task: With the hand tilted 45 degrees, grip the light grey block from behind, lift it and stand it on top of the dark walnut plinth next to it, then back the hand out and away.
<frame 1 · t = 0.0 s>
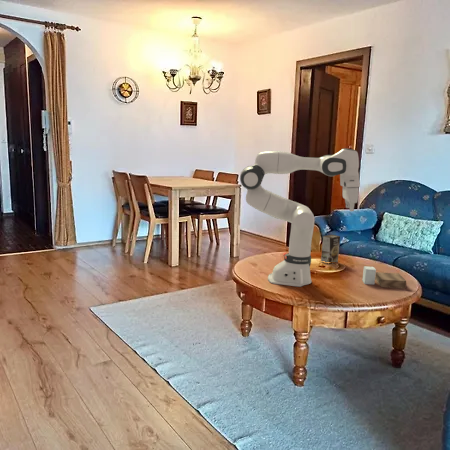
hand: (349, 209, 214), 39 cm above the table, tool pointing down, fingers open, 8 cm apart
walnut plinth: (389, 283, 224), on the table
coffee box: (329, 262, 259), on the table
light grey block: (368, 282, 225), on the table
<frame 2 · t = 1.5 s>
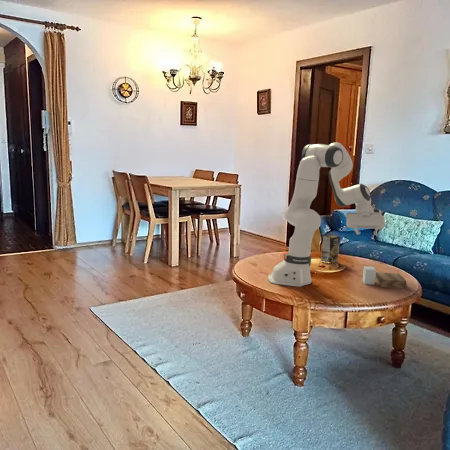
hand: (366, 234, 235), 23 cm above the table, tool tilted 45°, fingers open, 8 cm apart
nothing on the table moved.
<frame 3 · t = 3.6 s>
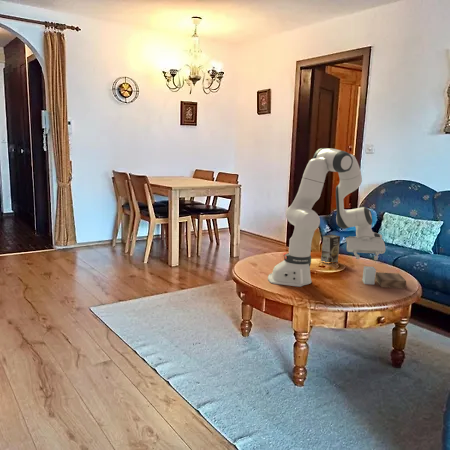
hand: (367, 259, 230), 11 cm above the table, tool tilted 45°, fingers open, 8 cm apart
nothing on the table moved.
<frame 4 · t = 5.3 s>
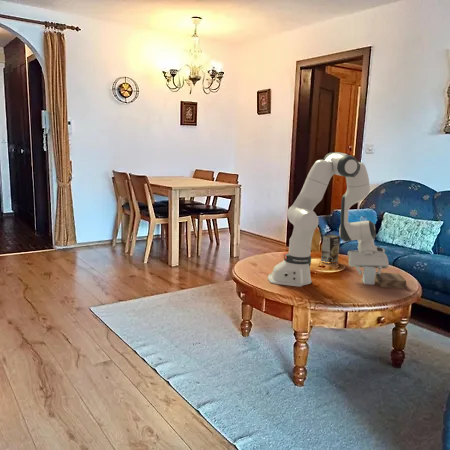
hand: (369, 274, 224), 5 cm above the table, tool tilted 45°, fingers open, 8 cm apart
nothing on the table moved.
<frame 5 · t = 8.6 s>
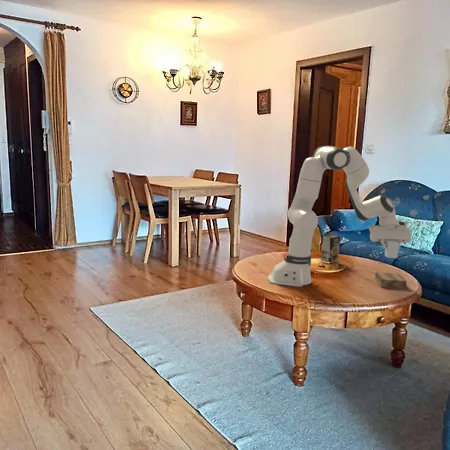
hand: (392, 248, 220), 19 cm above the table, tool tilted 45°, fingers closed on light grey block, 5 cm apart
light grey block: (390, 256, 221), point 15 cm above the table, touching gripper
everything else where it was.
when the fingers open (10 cm above the table, at t = 11.2 s): light grey block drops 1 cm, resting on walnut plinth.
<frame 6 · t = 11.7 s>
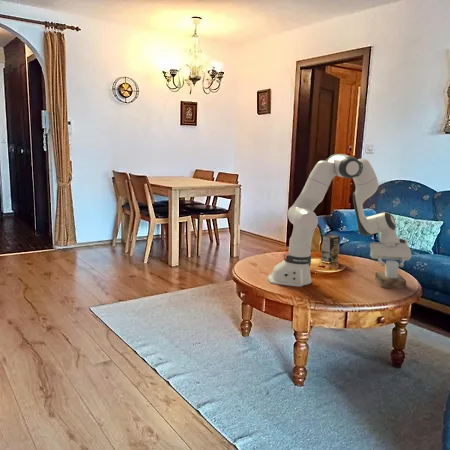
hand: (392, 266, 221), 10 cm above the table, tool tilted 45°, fingers open, 8 cm apart
light grey block: (390, 276, 223), point 4 cm above the table, touching walnut plinth
everything else where it was.
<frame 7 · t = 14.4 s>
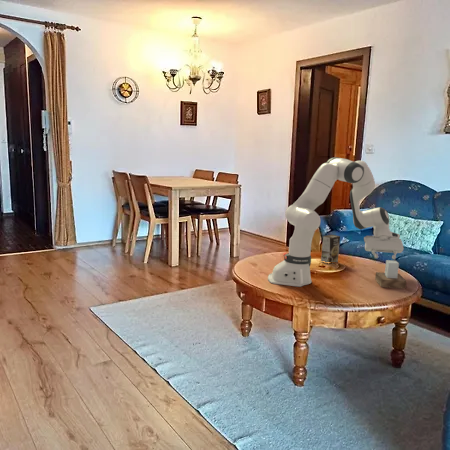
hand: (385, 258, 234), 10 cm above the table, tool tilted 45°, fingers open, 8 cm apart
nothing on the table moved.
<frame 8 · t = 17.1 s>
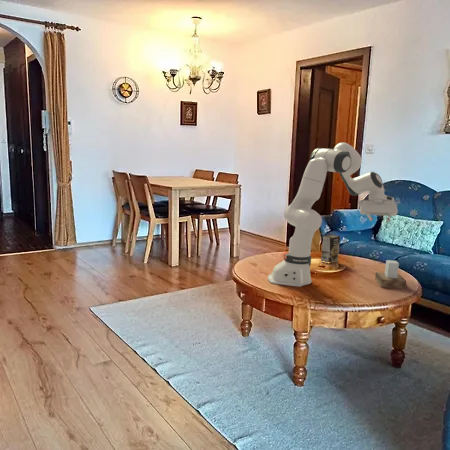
hand: (379, 220, 238), 29 cm above the table, tool tilted 45°, fingers open, 8 cm apart
nothing on the table moved.
at the end: light grey block 0.1 cm off-centre on the walnut plinth, point 4.0 cm above the walnut plinth's base; light grey block tilted 0°; the gripper is holding nothing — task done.
